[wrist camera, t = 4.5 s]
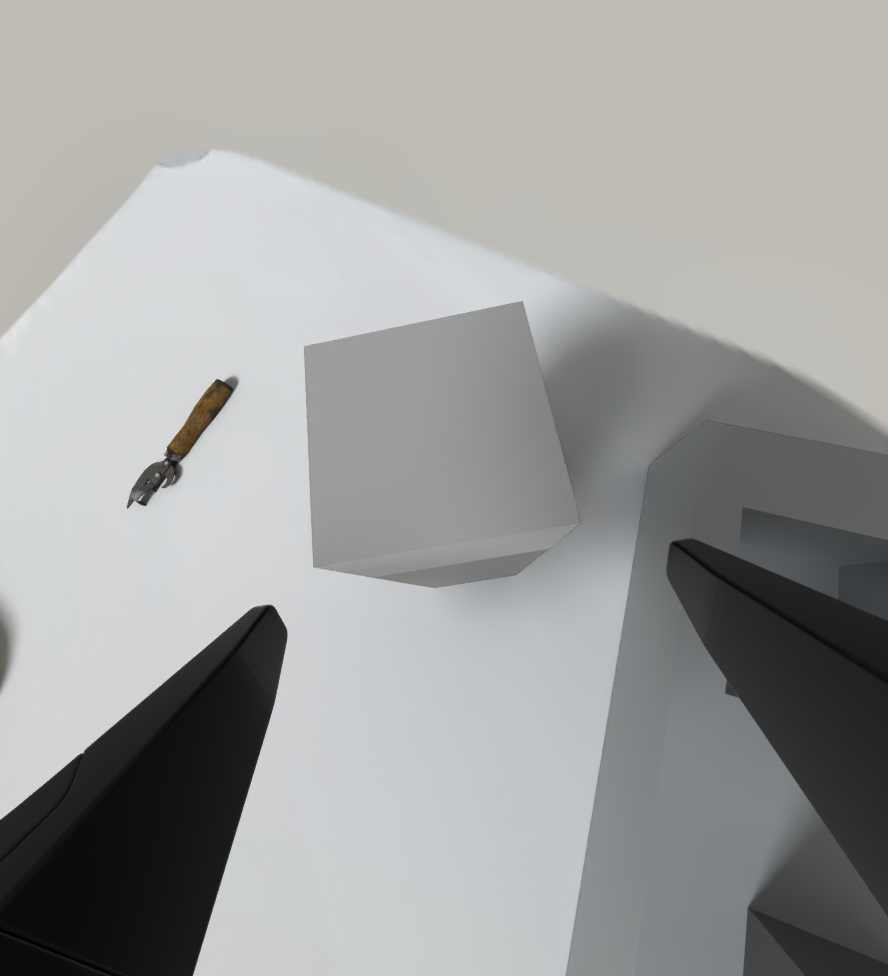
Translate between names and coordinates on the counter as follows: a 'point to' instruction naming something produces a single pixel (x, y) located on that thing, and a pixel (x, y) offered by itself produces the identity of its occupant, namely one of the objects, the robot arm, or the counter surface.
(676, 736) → the grey tray
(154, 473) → the can opener
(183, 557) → the counter surface
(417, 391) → the plug
